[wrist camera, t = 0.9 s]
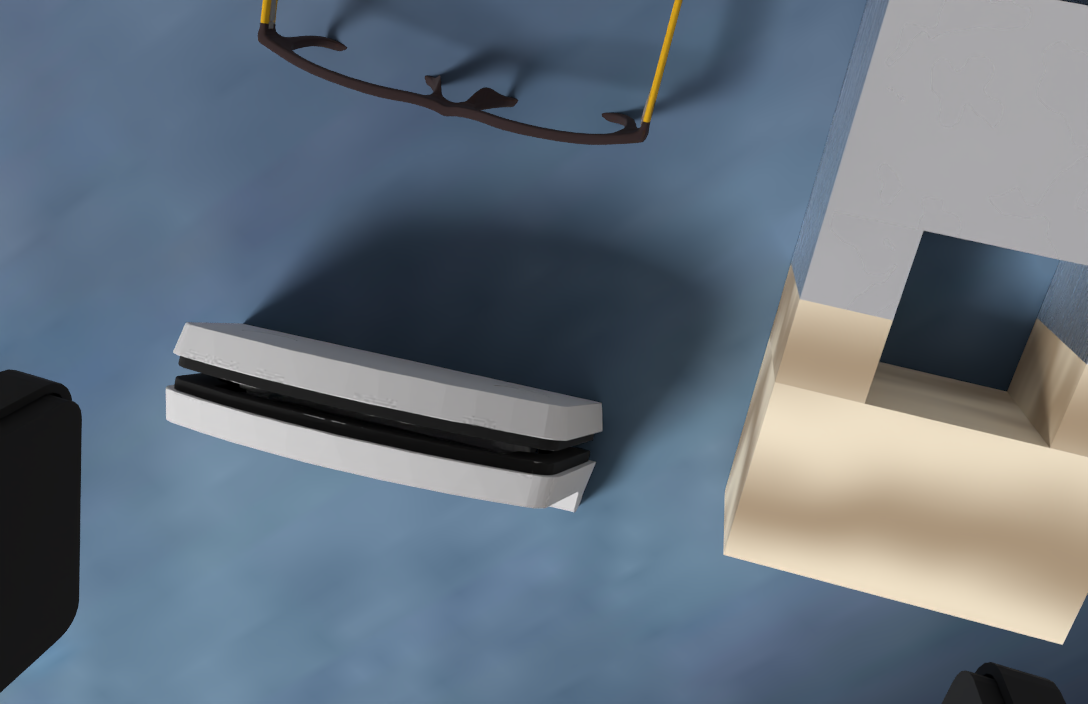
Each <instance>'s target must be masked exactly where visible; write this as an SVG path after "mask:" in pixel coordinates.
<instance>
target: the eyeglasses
mask: <svg viewBox="0 0 1088 704" xmlns="http://www.w3.org/2000/svg"><path fill="white" fill-rule="evenodd" d="M277 1H278V0H263V4H262V14H261V23H260V29H259V32H258V41H259V42H260V43H261V44H263V45H264V46H266V47H267V48H269V49H270V50H271V51H273V52H274V53H276V54H278V55H279V56H281V57H282V58H284V59H285V60H287V61H288V62H290V63H292V64H293V65H295V66H297V67H299V68H301V69H303V70H305V71H307V72H309V73H311V74H313V75H316V76H318V77H321V78H323V79H326V80H328V81H331V82H333V83H336V84H339V85H342V86H344V87H347V88H351V89H354V90H357V91H360V92H363V93H366V94H370V95H373V96H377V97H381V98H386V99H391V100H396V101H402V102H407V103H412V104H416V105H419V106H423V107H426V108H429V109H431V110H434V111H436V112H438V113H439V114H441V115H444V116H458V117H464V118H469V119H473V120H476V121H479V122H482V123H485V124H488V125H490V126H493V127H496V128H499V129H502V130H505V131H510V132H514V133H518V134H522V135H527V136H532V137H537V138H542V139H548V140H554V141H560V142H568V143H575V144H589V145H607V144H627V143H639V142H643V141H644V140H645V139H646V137H647V135H648V133H649V125H650V120H651V117H652V113H653V109H654V105H655V102H656V98H657V94H658V90H659V87H660V83H661V79H662V75H663V72H664V68H665V64H666V60H667V57H668V52H669V49H670V45H671V41H672V38H673V34H674V30H675V26H676V23H677V19H678V15H679V11H680V8H681V4H682V0H675V2H674V6H673V9H672V13H671V17H670V21H669V24H668V28H667V32H666V36H665V39H664V43H663V47H662V51H661V54H660V58H659V62H658V66H657V70H656V73H655V77H654V81H653V85H652V88H651V90H650V92H649V95H648V98H647V101H646V104H645V107H644V110H643V115H642V118H641V120H642V121H641V127H640V128H637V127H636V123H635V121H634V119H632V118H631V117H629V116H627V115H624V114H620V113H603V114H602V117H604V118H605V119H606V120H608V121H610V122H614V123H618V124H622V125H624V126H625V127H624V129H622V130H620V131H617V132H614V133H608V134H586V133H574V132H566V131H559V130H553V129H547V128H542V127H537V126H533V125H528V124H524V123H520V122H516V121H512V120H509V119H505V118H502V117H499V116H496V115H493V114H490V113H487V112H484V111H481V110H484V109H491V108H499V107H513V106H515V104H516V103H517V102H518V100H517V99H515V98H512V97H506V96H503V95H501V94H499V93H497V92H496V91H494V90H492V89H491V88H487V87H486V88H482V89H480V90H478V91H477V92H476V93H475V94H474V95H473V96H471V97H470V98H469V99H468V100H467V101H465V102H460V103H454V102H450V101H448V100H446V99H445V98H444V97H443V96H442V92H441V77H440V75H439V76H438V77H436V78H434V77H431V76H425V80H426V83H427V85H429V86H430V87H431V88H432V90H433V93H432V94H431V95H421V94H417V93H412V92H408V91H403V90H398V89H393V88H388V87H383V86H379V85H376V84H372V83H368V82H364V81H361V80H358V79H354V78H351V77H348V76H345V75H342V74H339V73H336V72H334V71H331V70H328V69H326V68H323V67H321V66H319V65H316V64H314V63H312V62H310V61H308V60H306V59H304V58H302V57H301V56H299V55H297V54H296V53H294V52H293V51H292V50H295V49H298V48H303V47H308V46H320V47H326V48H330V49H333V50H337V51H343V50H346V49H347V47H346V46H345V45H343V44H341V43H340V42H338V41H335V40H333V39H330V38H326V37H321V36H299V37H283V36H281V35H279V34H278V33H277V32H276V29H275V20H276V10H277Z"/></svg>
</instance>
